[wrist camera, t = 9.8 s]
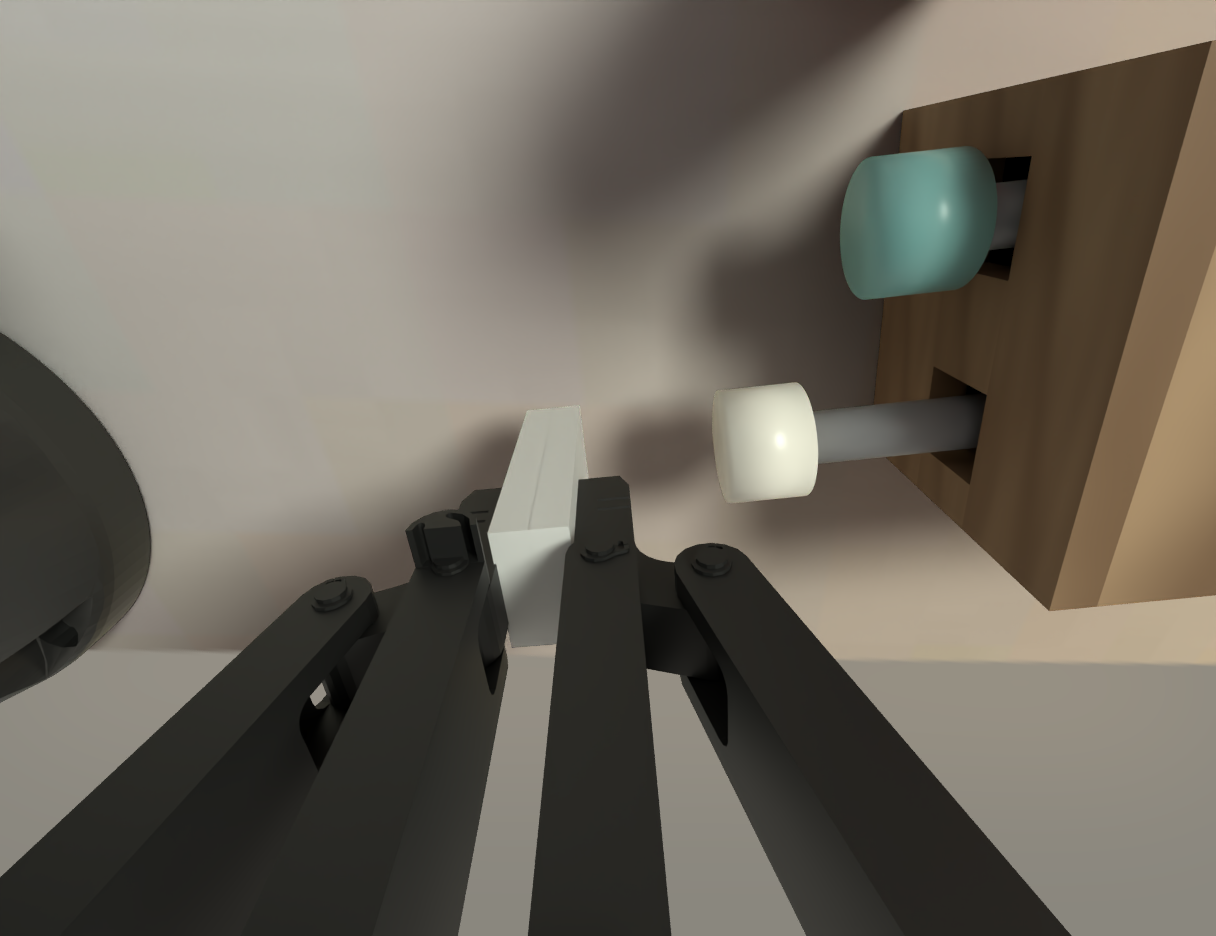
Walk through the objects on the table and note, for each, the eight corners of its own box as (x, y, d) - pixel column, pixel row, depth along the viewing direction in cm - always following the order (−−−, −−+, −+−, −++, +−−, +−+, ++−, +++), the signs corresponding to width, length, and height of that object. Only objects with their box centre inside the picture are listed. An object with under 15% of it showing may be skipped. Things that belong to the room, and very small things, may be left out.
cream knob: (713, 472, 18) (735, 524, 15) (711, 375, 16) (734, 414, 14) (983, 444, 17) (1055, 493, 15) (1003, 344, 16) (1085, 377, 13)
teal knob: (836, 288, 15) (888, 310, 13) (845, 158, 14) (904, 153, 11) (1148, 254, 15) (1268, 270, 12) (1186, 120, 14) (1330, 105, 11)
